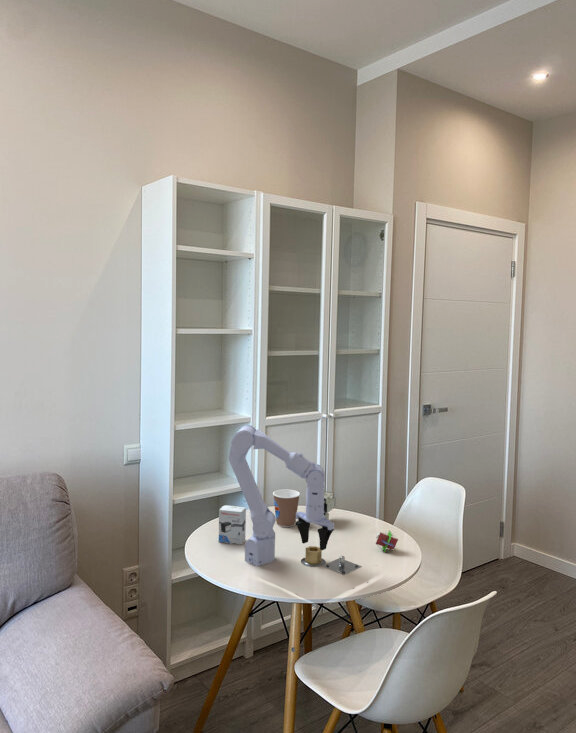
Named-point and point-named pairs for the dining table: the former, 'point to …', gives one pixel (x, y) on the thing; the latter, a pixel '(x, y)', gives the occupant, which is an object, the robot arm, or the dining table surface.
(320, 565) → the stand
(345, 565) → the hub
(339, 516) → the dining table surface
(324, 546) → the robot arm
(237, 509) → the ink box
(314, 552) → the brass collar
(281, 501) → the coffee cup
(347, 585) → the dining table surface
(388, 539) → the geometric puzzle
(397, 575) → the dining table surface
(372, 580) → the dining table surface
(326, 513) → the pneumatic valve
